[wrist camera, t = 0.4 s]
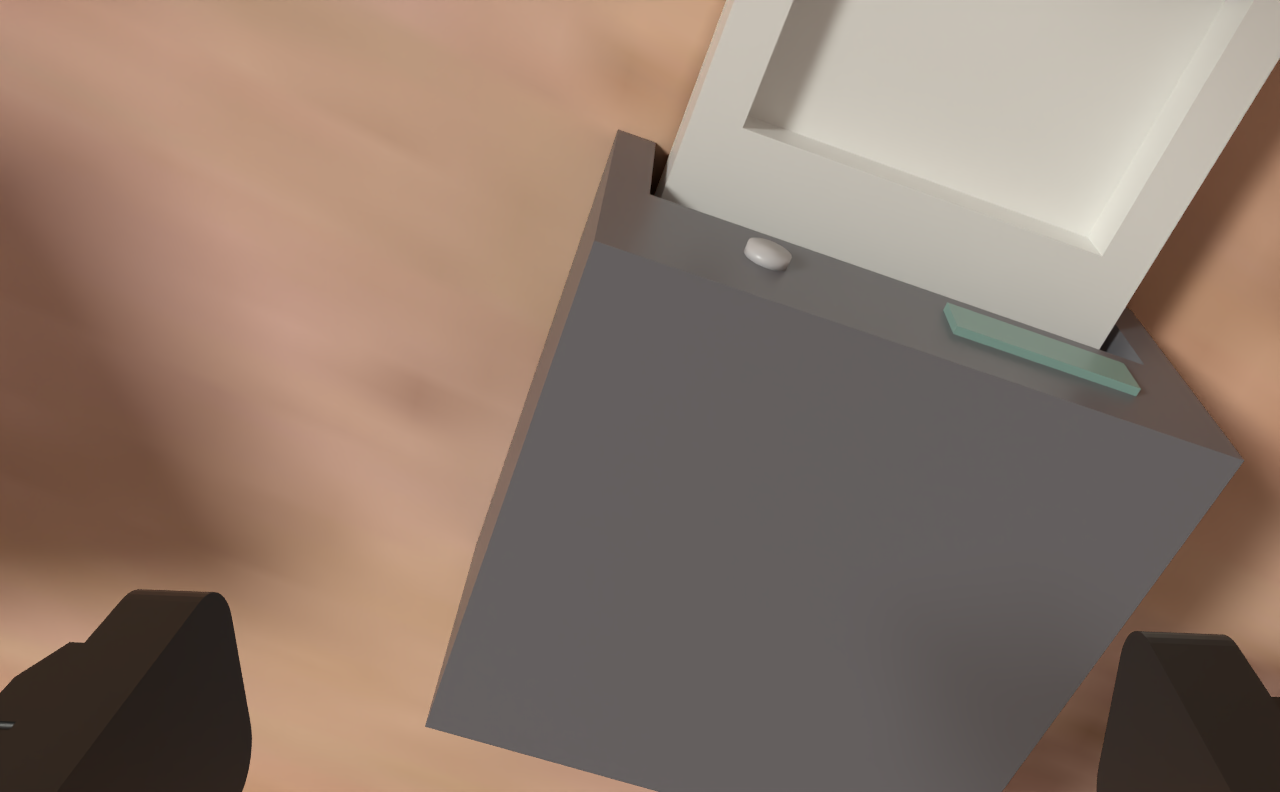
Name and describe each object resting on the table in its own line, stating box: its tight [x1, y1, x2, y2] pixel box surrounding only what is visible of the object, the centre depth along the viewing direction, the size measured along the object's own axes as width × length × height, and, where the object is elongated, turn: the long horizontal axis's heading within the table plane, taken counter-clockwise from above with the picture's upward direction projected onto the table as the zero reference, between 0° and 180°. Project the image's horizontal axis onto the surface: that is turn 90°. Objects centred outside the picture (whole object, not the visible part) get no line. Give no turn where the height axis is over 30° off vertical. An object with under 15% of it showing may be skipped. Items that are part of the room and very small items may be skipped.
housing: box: [425, 130, 1244, 792], centre depth 30 cm, size 14×14×7 cm
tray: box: [654, 0, 1280, 349], centre depth 25 cm, size 14×14×6 cm
